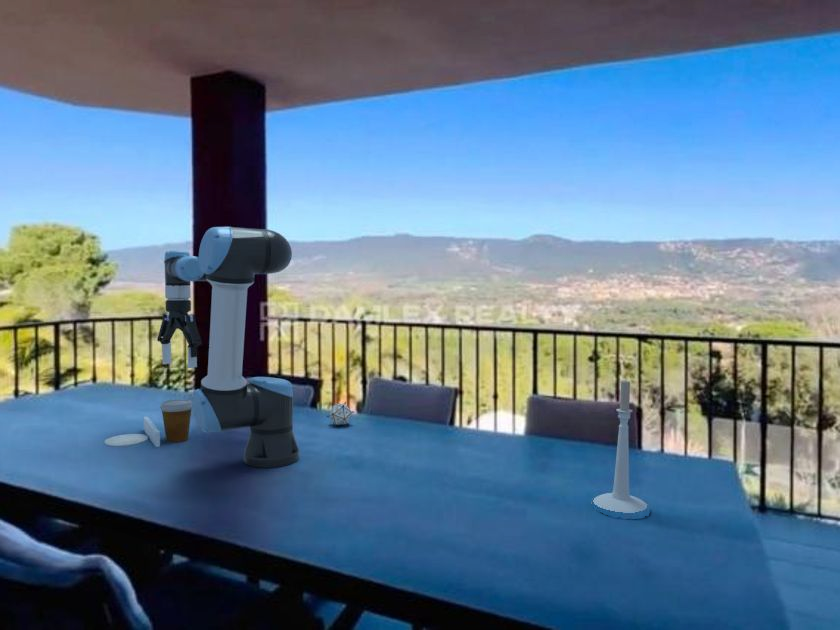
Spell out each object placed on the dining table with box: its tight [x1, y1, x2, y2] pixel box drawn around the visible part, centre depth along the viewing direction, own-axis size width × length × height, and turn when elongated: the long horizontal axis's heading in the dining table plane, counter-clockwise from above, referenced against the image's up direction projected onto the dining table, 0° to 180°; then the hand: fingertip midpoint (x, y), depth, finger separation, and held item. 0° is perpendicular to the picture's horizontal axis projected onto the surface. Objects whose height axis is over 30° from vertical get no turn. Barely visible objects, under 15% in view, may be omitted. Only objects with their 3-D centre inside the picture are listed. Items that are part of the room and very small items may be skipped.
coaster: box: [104, 433, 149, 447], centre depth 183 cm, size 12×12×1 cm
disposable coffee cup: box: [159, 398, 193, 443], centre depth 185 cm, size 10×10×12 cm
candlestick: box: [592, 379, 648, 513], centre depth 134 cm, size 13×13×30 cm
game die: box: [326, 401, 355, 428], centre depth 205 cm, size 9×8×10 cm
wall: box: [143, 416, 161, 448], centre depth 186 cm, size 22×1×4 cm, turn 34°
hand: (179, 365), depth 189 cm, fingers open, 13 cm apart
